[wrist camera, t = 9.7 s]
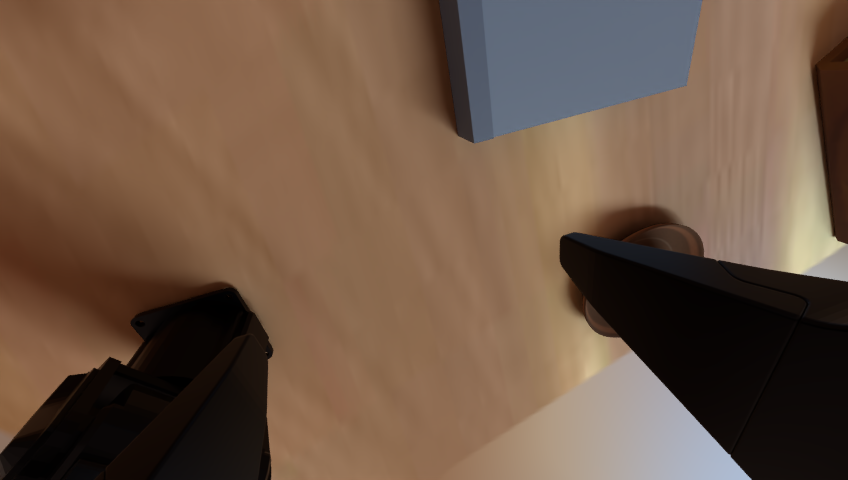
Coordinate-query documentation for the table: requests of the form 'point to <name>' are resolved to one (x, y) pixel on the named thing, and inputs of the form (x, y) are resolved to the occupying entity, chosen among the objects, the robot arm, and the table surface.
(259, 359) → the robot arm
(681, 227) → the cup and saucer
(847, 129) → the diary
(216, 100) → the table surface
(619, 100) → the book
